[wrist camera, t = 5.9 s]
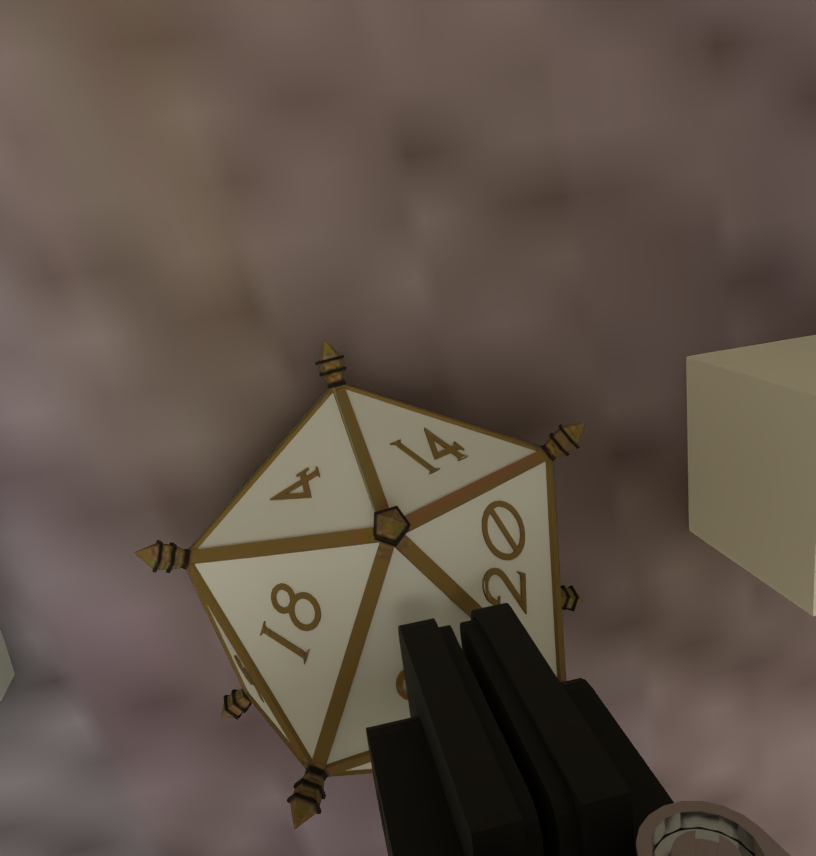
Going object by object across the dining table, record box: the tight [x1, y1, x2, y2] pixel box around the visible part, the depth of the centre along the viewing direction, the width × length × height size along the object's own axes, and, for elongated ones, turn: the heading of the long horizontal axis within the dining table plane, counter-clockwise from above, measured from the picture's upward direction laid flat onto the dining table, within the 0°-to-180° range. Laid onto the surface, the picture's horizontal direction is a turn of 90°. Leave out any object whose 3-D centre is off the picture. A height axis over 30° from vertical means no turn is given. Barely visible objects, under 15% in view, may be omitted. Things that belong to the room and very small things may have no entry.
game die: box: [134, 340, 585, 829], centre depth 15 cm, size 9×8×10 cm
